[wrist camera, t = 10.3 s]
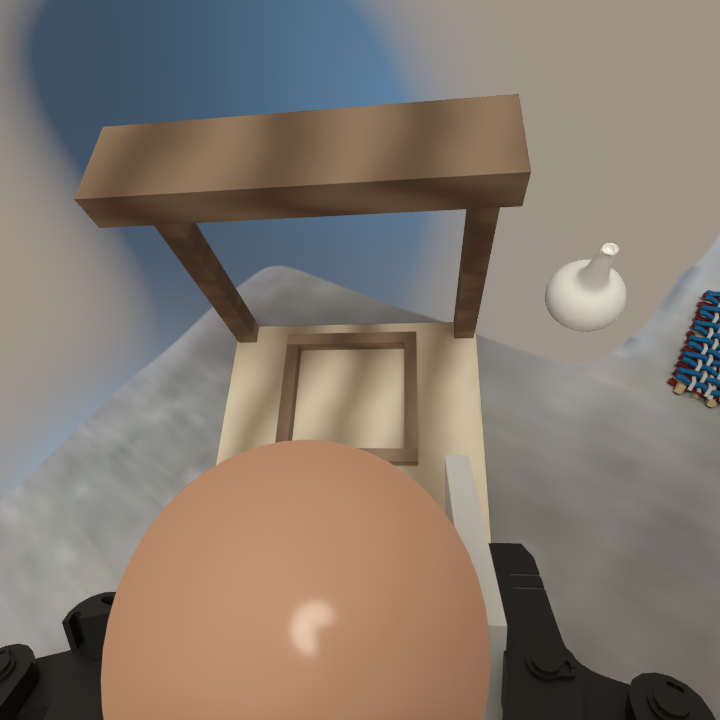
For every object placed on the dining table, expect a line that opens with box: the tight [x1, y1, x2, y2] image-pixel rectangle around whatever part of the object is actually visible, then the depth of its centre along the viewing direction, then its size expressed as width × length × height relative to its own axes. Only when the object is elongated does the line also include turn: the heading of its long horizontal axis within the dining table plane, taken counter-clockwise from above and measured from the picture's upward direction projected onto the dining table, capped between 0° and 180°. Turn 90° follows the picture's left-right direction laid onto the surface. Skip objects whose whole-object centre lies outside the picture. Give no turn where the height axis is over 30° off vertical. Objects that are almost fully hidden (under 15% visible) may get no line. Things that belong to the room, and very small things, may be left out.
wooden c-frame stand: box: [74, 94, 531, 543], centre depth 29 cm, size 21×20×22 cm
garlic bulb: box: [545, 243, 626, 331], centre depth 39 cm, size 6×6×8 cm
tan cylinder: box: [101, 440, 490, 720], centre depth 13 cm, size 6×6×12 cm
